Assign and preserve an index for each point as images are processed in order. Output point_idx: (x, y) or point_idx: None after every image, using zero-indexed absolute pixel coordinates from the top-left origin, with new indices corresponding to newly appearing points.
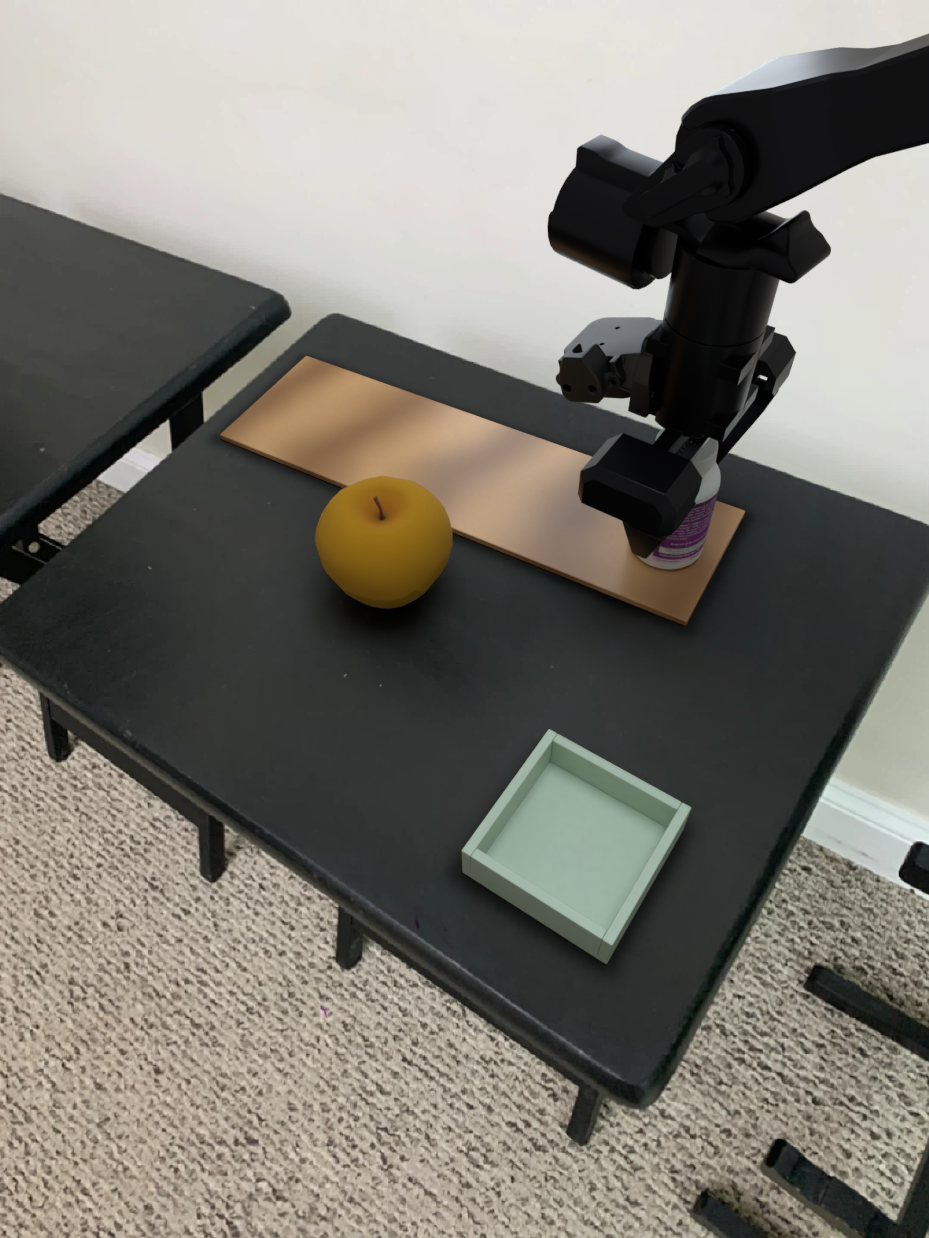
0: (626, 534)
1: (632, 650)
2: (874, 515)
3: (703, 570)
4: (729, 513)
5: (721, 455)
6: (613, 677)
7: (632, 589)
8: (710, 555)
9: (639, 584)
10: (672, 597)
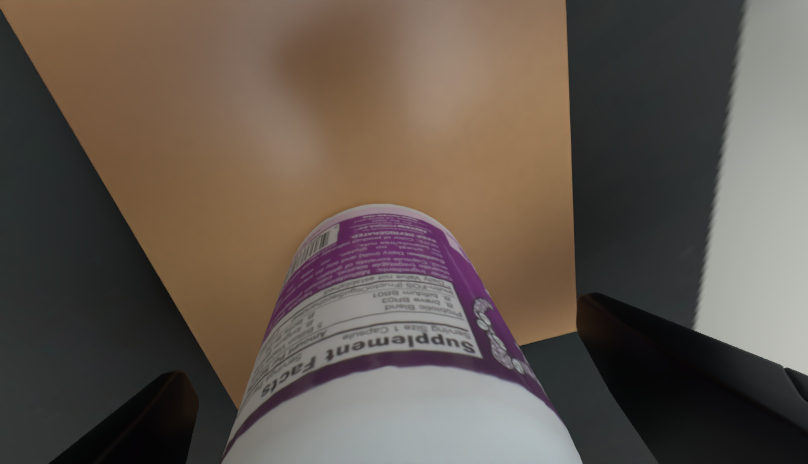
0: (58, 457)
1: (113, 382)
2: None
3: None
4: (552, 315)
5: (649, 443)
6: (31, 397)
7: (212, 311)
8: None
9: (238, 311)
10: None
